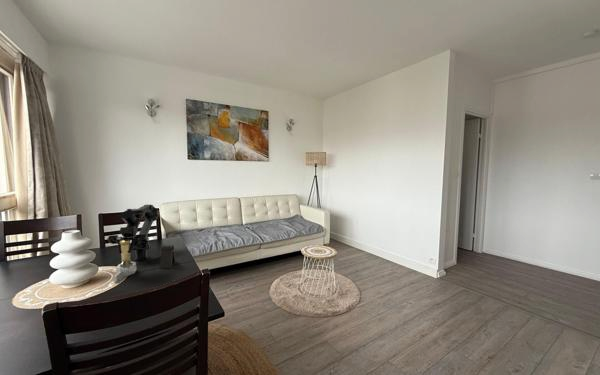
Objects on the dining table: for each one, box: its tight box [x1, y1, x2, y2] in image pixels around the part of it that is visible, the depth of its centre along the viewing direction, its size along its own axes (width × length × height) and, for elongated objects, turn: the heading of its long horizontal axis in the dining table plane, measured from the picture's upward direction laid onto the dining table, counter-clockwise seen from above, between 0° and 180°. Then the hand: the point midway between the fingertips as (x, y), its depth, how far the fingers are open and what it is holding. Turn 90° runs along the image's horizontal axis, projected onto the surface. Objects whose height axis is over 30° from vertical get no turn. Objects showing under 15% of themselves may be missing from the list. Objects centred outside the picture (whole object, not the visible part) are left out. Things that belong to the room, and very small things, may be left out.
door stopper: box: [159, 244, 177, 269], centre depth 148 cm, size 9×6×12 cm, turn 8°
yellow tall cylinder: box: [120, 239, 132, 265], centre depth 136 cm, size 5×5×13 cm
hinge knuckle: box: [113, 261, 137, 283], centre depth 137 cm, size 20×8×4 cm, turn 21°
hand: (124, 253), depth 135 cm, fingers closed on yellow tall cylinder, 4 cm apart
